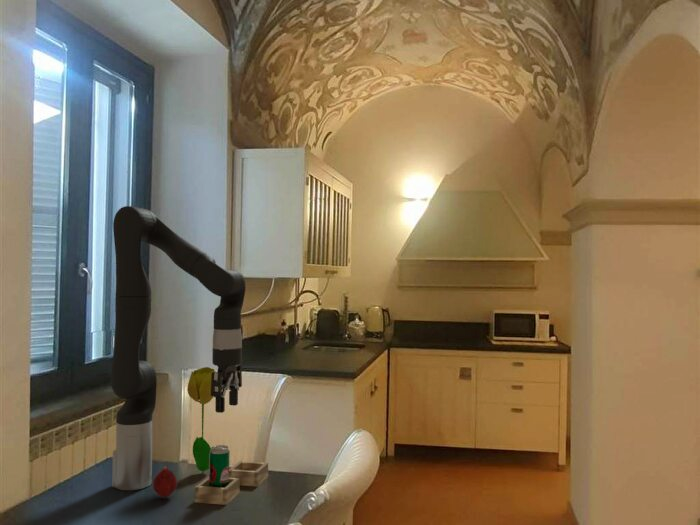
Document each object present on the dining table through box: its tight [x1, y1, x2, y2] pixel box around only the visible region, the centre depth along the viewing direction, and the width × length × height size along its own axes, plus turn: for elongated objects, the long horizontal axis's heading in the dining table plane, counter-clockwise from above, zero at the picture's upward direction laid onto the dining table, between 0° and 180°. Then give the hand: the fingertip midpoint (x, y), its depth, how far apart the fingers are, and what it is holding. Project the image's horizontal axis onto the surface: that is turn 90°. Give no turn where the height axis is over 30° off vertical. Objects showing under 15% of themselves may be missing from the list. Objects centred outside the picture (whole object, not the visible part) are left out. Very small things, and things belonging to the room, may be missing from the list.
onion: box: [152, 465, 178, 499], centre depth 156 cm, size 6×6×8 cm
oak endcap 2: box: [229, 460, 269, 487], centre depth 170 cm, size 8×8×4 cm
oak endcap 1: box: [194, 476, 241, 506], centre depth 157 cm, size 8×8×4 cm
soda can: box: [208, 444, 231, 488], centre depth 157 cm, size 5×5×12 cm
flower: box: [187, 366, 217, 474], centre depth 176 cm, size 9×8×30 cm
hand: (226, 408), depth 159 cm, fingers open, 8 cm apart
